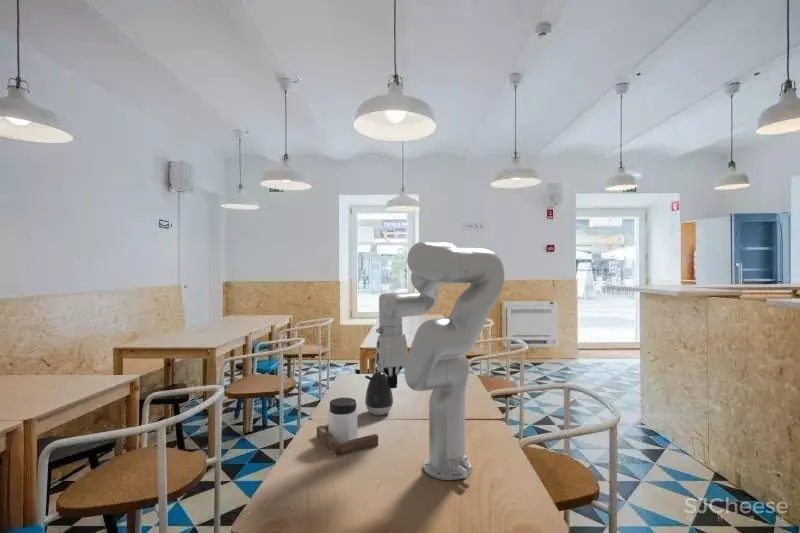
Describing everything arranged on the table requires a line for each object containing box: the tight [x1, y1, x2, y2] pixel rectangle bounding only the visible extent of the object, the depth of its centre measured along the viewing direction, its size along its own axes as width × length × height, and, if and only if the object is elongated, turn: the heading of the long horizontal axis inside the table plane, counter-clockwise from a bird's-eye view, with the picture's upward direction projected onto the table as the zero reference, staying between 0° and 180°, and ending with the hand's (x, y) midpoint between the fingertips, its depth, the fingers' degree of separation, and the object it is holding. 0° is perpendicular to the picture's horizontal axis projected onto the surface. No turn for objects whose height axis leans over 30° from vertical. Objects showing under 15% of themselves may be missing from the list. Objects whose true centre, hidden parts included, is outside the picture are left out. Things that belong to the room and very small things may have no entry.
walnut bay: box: [316, 419, 379, 457], centre depth 127 cm, size 16×14×3 cm
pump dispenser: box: [364, 370, 394, 416], centre depth 151 cm, size 10×10×15 cm
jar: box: [327, 397, 358, 443], centre depth 128 cm, size 9×8×12 cm
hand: (392, 387), depth 135 cm, fingers closed
